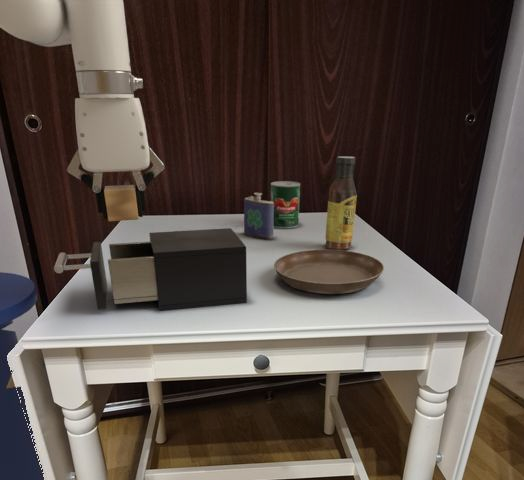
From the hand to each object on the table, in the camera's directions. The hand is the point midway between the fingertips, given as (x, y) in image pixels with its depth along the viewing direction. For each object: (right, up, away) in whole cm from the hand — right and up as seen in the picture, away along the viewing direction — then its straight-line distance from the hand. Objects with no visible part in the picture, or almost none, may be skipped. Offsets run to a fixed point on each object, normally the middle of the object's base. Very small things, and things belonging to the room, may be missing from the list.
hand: (123, 215), depth 77 cm
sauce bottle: (+40, +2, +36) cm, 54 cm away
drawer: (-2, -12, +6) cm, 14 cm away
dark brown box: (+11, -11, +9) cm, 18 cm away
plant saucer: (+35, -8, +16) cm, 39 cm away
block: (0, 0, 0) cm, 0 cm away
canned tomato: (+28, +13, +55) cm, 64 cm away
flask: (+21, +7, +45) cm, 50 cm away
